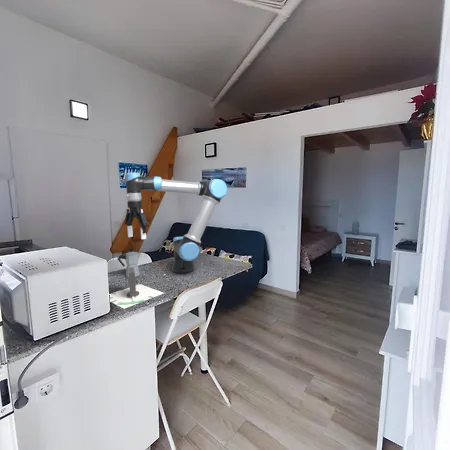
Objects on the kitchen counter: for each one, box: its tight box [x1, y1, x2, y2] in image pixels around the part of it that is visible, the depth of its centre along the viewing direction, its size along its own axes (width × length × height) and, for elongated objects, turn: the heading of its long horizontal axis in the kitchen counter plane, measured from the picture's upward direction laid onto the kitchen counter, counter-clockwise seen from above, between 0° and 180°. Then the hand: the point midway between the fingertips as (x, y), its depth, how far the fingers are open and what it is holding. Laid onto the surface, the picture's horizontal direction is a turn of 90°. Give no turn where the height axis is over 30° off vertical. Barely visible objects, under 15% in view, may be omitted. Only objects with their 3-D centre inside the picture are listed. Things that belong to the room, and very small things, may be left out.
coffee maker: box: [117, 247, 142, 278], centre depth 160 cm, size 15×9×18 cm, turn 131°
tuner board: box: [109, 283, 164, 310], centre depth 127 cm, size 22×22×2 cm
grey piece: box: [127, 267, 139, 302], centre depth 124 cm, size 14×6×13 cm, turn 22°
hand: (136, 237), depth 145 cm, fingers open, 13 cm apart
